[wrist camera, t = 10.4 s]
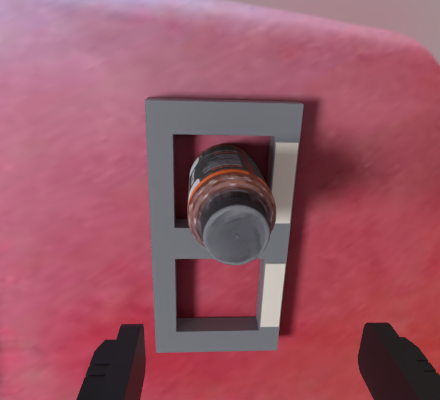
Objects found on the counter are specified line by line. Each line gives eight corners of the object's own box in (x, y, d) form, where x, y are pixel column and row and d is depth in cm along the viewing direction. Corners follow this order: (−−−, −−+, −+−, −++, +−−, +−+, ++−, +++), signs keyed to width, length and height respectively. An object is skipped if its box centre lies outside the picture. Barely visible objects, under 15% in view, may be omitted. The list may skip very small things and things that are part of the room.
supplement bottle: (174, 169, 31) (163, 226, 20) (231, 128, 30) (250, 166, 19) (215, 220, 33) (224, 296, 22) (270, 183, 32) (306, 244, 21)
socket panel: (297, 101, 29) (304, 103, 27) (273, 335, 38) (277, 350, 36) (148, 97, 29) (144, 100, 27) (158, 338, 37) (156, 353, 35)
